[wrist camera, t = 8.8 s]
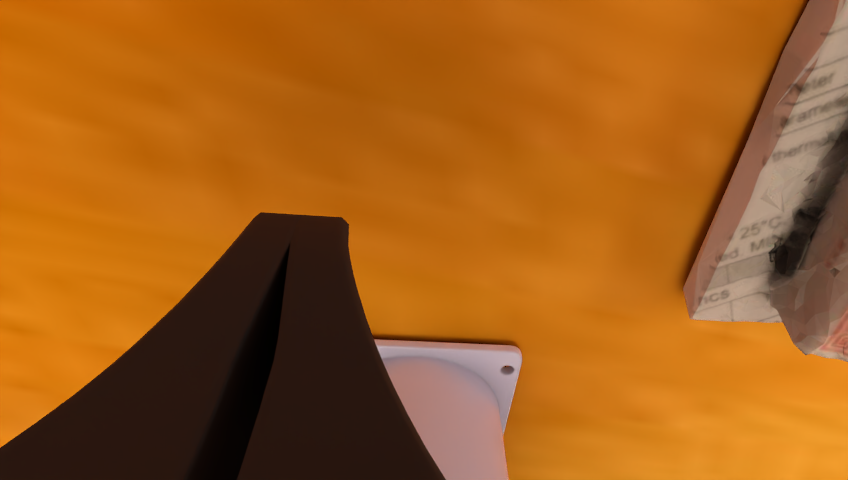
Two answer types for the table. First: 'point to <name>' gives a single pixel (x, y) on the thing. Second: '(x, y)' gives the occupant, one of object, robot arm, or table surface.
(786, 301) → the packaged product
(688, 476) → the table surface
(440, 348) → the robot arm
